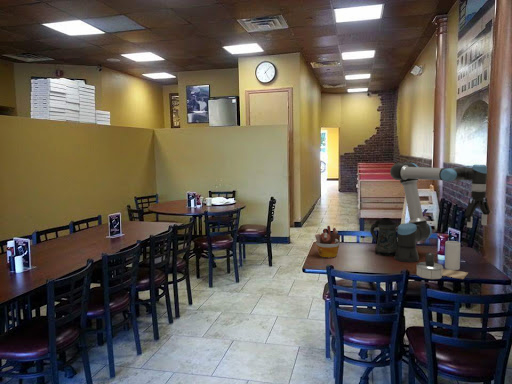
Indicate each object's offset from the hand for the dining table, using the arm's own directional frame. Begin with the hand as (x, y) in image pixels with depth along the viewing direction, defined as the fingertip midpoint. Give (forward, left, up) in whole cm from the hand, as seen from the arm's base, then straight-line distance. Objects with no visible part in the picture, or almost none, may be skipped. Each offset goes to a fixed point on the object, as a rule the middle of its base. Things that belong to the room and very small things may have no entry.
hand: (476, 226), depth 242 cm
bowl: (-19, -29, -26) cm, 43 cm away
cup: (-12, -6, -26) cm, 29 cm away
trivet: (-9, -19, -26) cm, 33 cm away
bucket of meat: (-88, -22, -26) cm, 94 cm away
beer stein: (-58, +6, -26) cm, 64 cm away
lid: (-19, -29, -21) cm, 40 cm away
